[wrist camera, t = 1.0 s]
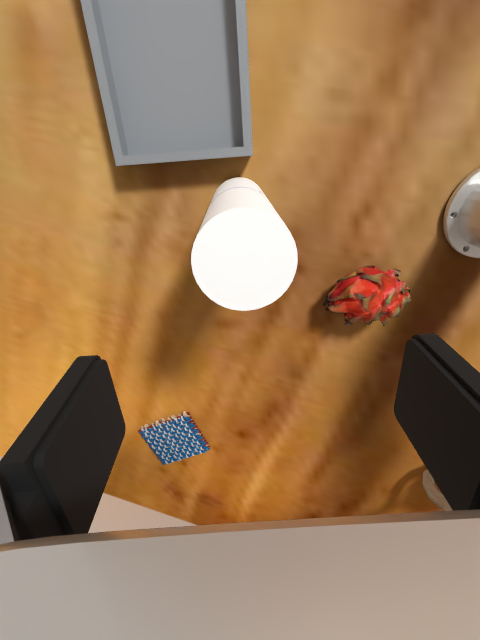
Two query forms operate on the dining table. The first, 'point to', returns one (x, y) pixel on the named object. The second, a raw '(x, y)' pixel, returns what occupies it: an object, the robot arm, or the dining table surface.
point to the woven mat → (174, 438)
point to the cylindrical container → (243, 248)
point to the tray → (172, 78)
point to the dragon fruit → (369, 295)
